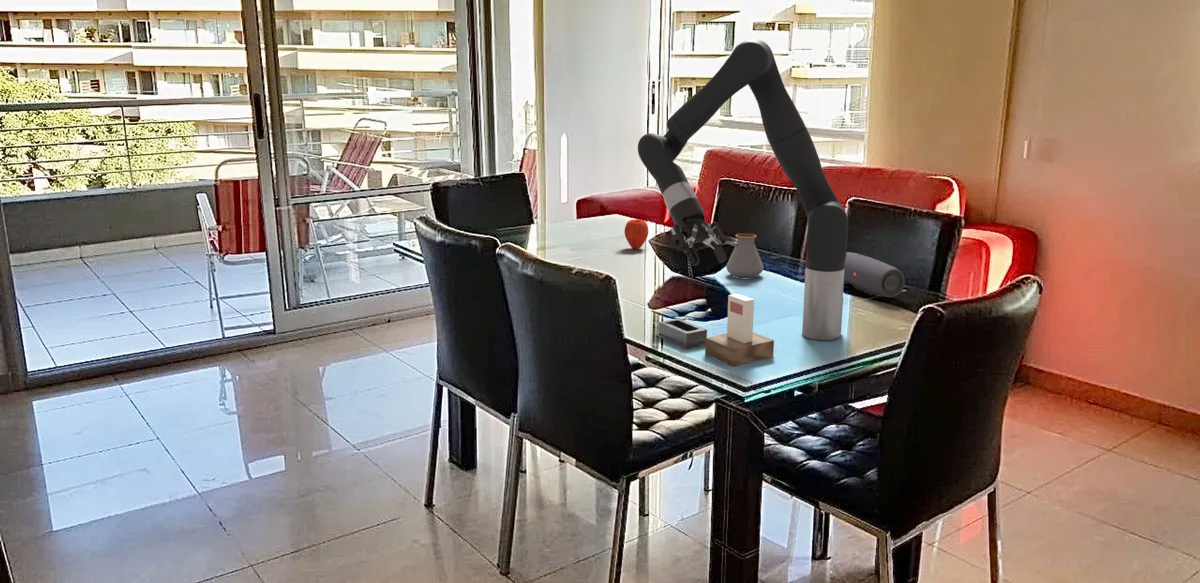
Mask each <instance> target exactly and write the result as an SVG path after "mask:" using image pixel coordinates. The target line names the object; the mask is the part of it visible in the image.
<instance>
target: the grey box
mask: <svg viewBox="0 0 1200 583" xmlns="http://www.w3.org/2000/svg"><path fill="white" fill-rule="evenodd" d="M655 336H656V337H657V338H660V339H662V340H664V341H665V342H666V341H667V342H668V343H671V344H673V345H674V346H677V347H680V348H683V349H684V350H688V349H692V348H697V347H702V345H703V346H705V339H706V338H707V337H708V329H706V328H704V327H701V326H700V325H697V324H694V323H692V322H690V321H687V320H684V319H682V318H679V317H678V318H677V317H676V318H673V319H668V320H667V319H666V320H663V321H658V332H656V333H655Z"/></svg>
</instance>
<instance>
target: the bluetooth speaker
mask: <svg viewBox="0 0 1200 583" xmlns="http://www.w3.org/2000/svg"><path fill="white" fill-rule="evenodd" d="M905 280H906V279H905V275H904V274H903V272H902V271H901V270H899V269H898V268H897V267H895V266H893V265H890V264H889V263H886V262H883V261H881V260H878V259H876V258H873V257H869V256H867V255H863V254H859V253H857V252H850V251H848V252H846V260H845V270H844V282H847V283H848V284H850V285H852V286H853V287H855V288H857V289H860V290H862V291H864V292H867V293H869V294H873V295H881V296H880V297H885V298H893V297H897V296H898V295H899V294H900V293H902V291H903V290H904V287H905V282H906V281H905ZM855 288H854V289H855ZM857 289H856V290H857Z"/></svg>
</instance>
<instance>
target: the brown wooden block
mask: <svg viewBox="0 0 1200 583" xmlns="http://www.w3.org/2000/svg"><path fill="white" fill-rule="evenodd" d="M704 346H705V347H704V348H705V350H704V355H706V356H708V355H709V356H708V357H710V356H711V358H713V357H714V358H713V359H715V358H716V359H715V360H718V361H719V360H720V362H721V363H724V362H725V363H724V364H726V363H727V364H726V365H729V366H731V367H736V366H740V364H741V365H745V364H748V363H753V361H754V362H757V360H758V361H761V360H765V359H771V358H774V353H775V352H774V346H775V340H774V339H771V338H770V337H767V336H764V335H761V334H758V333H756V332H754V331H753V338H752V342H748V343H742V342H739V341H737V340H734V339H732V338H729V337H727V332H726V333H722V334H717V335H713V336H712V335H711V336H707V338H706V339H705V345H704ZM770 357H771V358H770ZM744 363H745V364H744Z"/></svg>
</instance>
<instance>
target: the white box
mask: <svg viewBox="0 0 1200 583" xmlns="http://www.w3.org/2000/svg"><path fill="white" fill-rule="evenodd" d="M727 298H728V299H727V300H728V301H727V331H726V333H727V337H729V338H732V339H734V340H737V341H739V342H742V343H748V342H752V338H753V332H754V309H755V308H754V307H755V306H754V305H755V299H754V298H752V297H751V298H750V297H748V296H745V295H744V294H743V295H742V294H739V293H733V294H729V295H728V296H727Z"/></svg>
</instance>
